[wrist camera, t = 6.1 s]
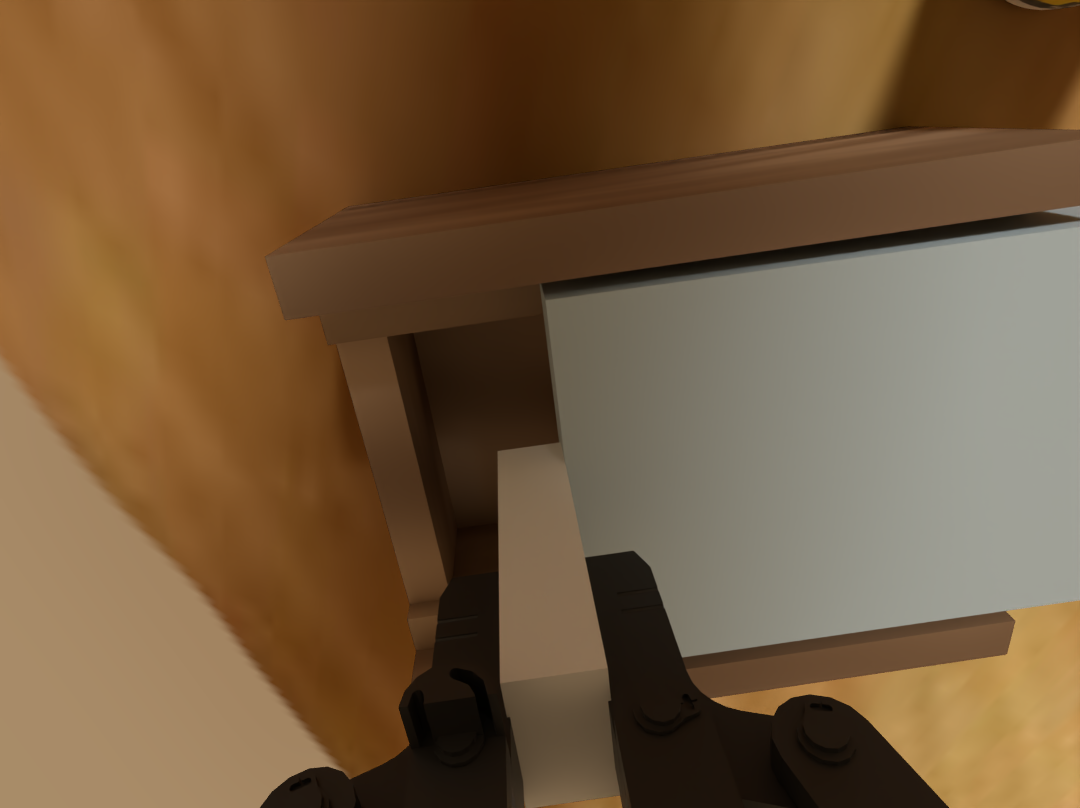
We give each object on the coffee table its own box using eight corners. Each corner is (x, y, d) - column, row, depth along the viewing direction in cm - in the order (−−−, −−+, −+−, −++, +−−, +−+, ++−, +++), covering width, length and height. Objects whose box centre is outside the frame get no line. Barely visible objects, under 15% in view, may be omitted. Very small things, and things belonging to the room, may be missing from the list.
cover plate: (538, 275, 14) (545, 300, 12) (1164, 190, 14) (1265, 201, 12) (580, 614, 18) (590, 670, 16) (1061, 545, 18) (1125, 593, 16)
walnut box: (347, 206, 18) (264, 256, 11) (908, 126, 18) (1139, 131, 11) (438, 570, 23) (416, 741, 17) (866, 507, 23) (1006, 654, 17)
